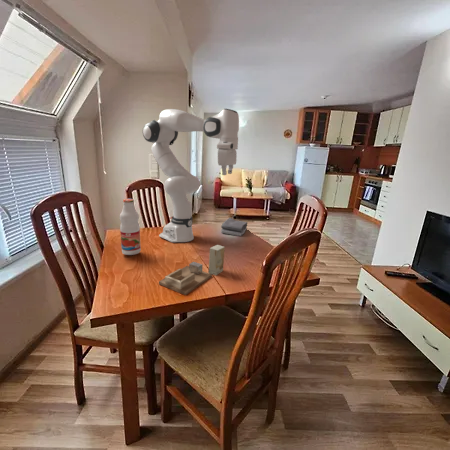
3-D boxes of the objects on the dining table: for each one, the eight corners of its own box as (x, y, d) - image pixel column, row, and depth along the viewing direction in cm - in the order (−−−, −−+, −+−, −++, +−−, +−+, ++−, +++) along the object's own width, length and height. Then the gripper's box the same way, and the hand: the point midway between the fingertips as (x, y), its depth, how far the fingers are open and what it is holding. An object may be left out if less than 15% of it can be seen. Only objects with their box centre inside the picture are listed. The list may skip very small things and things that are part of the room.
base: (158, 284, 101) (158, 274, 100) (187, 268, 116) (187, 259, 115) (185, 295, 95) (185, 285, 94) (211, 276, 110) (212, 268, 108)
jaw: (189, 271, 110) (189, 263, 109) (193, 268, 113) (193, 261, 112) (198, 274, 108) (198, 267, 107) (202, 271, 111) (202, 264, 110)
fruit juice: (143, 248, 135) (140, 198, 127) (137, 255, 126) (135, 201, 118) (125, 248, 135) (122, 197, 127) (119, 255, 126) (114, 200, 118)
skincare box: (216, 276, 111) (217, 250, 107) (208, 273, 113) (209, 248, 109) (223, 270, 116) (225, 246, 112) (216, 268, 118) (217, 244, 114)
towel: (220, 234, 167) (220, 223, 164) (227, 226, 184) (228, 216, 181) (242, 237, 163) (243, 226, 160) (247, 229, 180) (248, 219, 177)
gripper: (228, 145, 131) (227, 172, 134) (215, 144, 112) (214, 175, 116) (240, 146, 129) (238, 173, 133) (228, 144, 110) (227, 176, 114)
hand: (227, 174), depth 124 cm, fingers open, 8 cm apart
